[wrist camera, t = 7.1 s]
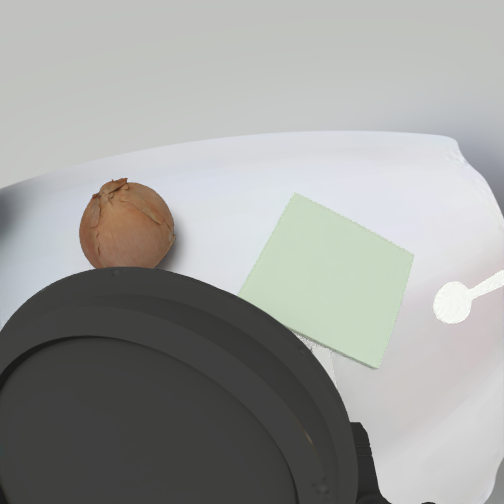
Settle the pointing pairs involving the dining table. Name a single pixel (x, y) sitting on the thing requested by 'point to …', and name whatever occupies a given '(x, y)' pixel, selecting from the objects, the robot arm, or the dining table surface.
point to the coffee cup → (164, 399)
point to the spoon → (462, 298)
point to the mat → (330, 281)
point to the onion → (126, 226)
